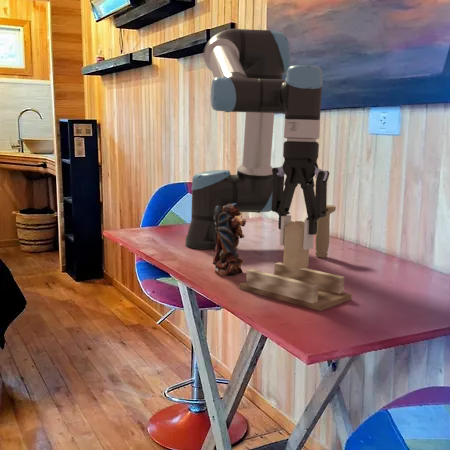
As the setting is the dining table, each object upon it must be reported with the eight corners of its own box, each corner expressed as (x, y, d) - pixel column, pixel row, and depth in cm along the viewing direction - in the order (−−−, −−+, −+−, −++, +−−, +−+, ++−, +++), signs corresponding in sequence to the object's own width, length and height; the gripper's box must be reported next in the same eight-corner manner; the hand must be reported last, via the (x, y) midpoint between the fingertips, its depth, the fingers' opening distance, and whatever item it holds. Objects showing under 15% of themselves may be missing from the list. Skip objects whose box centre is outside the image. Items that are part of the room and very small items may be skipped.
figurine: (258, 269, 147) (256, 200, 144) (246, 278, 138) (244, 205, 136) (220, 267, 151) (217, 200, 148) (206, 275, 143) (203, 204, 140)
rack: (239, 288, 129) (240, 268, 129) (271, 279, 138) (272, 260, 137) (320, 311, 115) (321, 288, 114) (351, 299, 123) (352, 278, 123)
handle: (334, 258, 163) (338, 207, 160) (313, 258, 162) (316, 207, 159) (329, 255, 167) (332, 204, 165) (308, 255, 166) (311, 204, 164)
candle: (302, 270, 122) (304, 224, 120) (279, 266, 124) (281, 221, 123) (311, 265, 126) (314, 221, 125) (289, 262, 129) (291, 218, 127)
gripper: (256, 139, 124) (253, 242, 128) (328, 141, 112) (322, 256, 116) (277, 139, 130) (273, 238, 133) (348, 141, 117) (342, 251, 121)
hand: (296, 246), depth 124 cm, fingers closed on candle, 5 cm apart
